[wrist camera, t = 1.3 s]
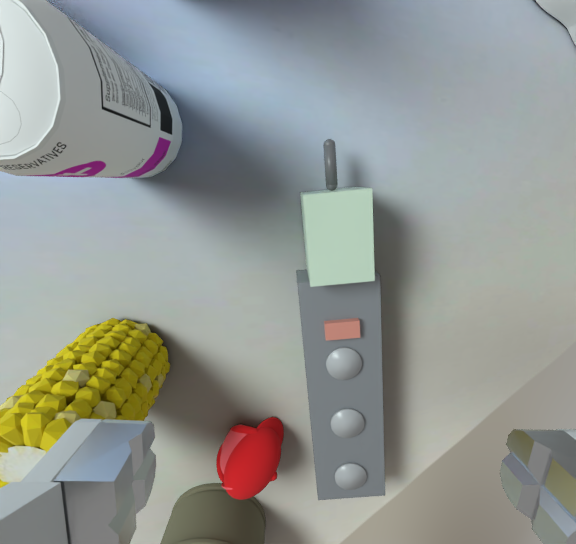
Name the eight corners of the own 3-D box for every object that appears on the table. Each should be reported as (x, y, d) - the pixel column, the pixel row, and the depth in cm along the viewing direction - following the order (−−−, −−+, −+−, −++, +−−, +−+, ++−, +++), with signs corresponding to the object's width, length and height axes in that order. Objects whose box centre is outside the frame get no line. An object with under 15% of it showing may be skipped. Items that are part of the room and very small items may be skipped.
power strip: (368, 263, 31) (382, 277, 27) (375, 463, 38) (386, 500, 33) (296, 270, 31) (297, 285, 27) (315, 467, 38) (318, 505, 33)
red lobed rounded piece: (243, 502, 35) (283, 512, 31) (200, 488, 32) (239, 498, 28) (262, 424, 40) (299, 425, 36) (227, 406, 37) (263, 405, 33)
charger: (353, 140, 28) (370, 129, 22) (359, 285, 32) (375, 309, 26) (296, 146, 28) (297, 137, 22) (308, 290, 32) (312, 315, 26)
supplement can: (175, 189, 29) (65, 196, 15) (84, 162, 29) (-124, 142, 14) (194, 93, 27) (86, -6, 13) (95, 62, 27) (-134, -80, 12)
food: (178, 315, 34) (166, 392, 37) (50, 302, 31) (50, 386, 34) (153, 431, 20) (139, 537, 24) (-81, 428, 17) (-62, 552, 20)
